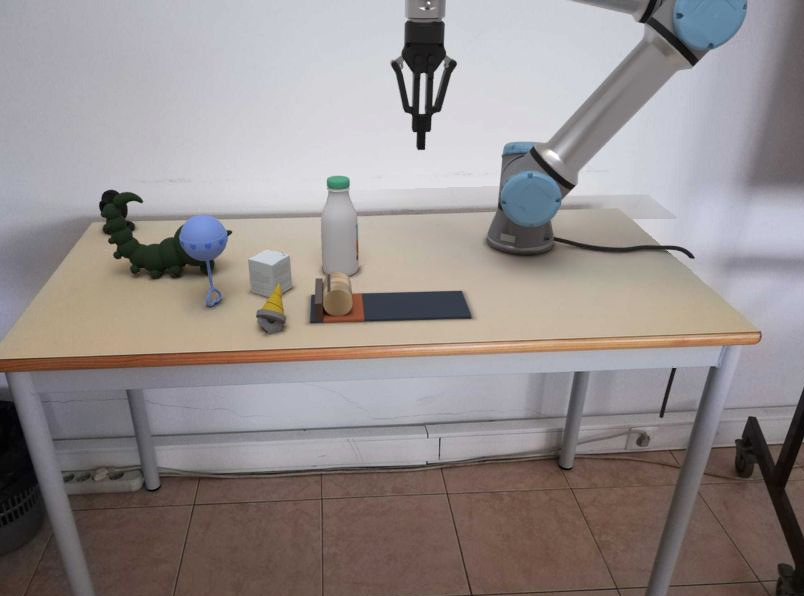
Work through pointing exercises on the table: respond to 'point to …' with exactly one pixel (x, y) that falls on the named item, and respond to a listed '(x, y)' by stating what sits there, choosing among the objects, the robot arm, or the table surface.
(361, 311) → the board
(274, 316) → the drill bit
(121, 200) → the toy figurine
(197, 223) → the baby rattle
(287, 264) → the product box
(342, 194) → the milk bottle
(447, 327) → the table surface
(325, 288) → the roller
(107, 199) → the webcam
